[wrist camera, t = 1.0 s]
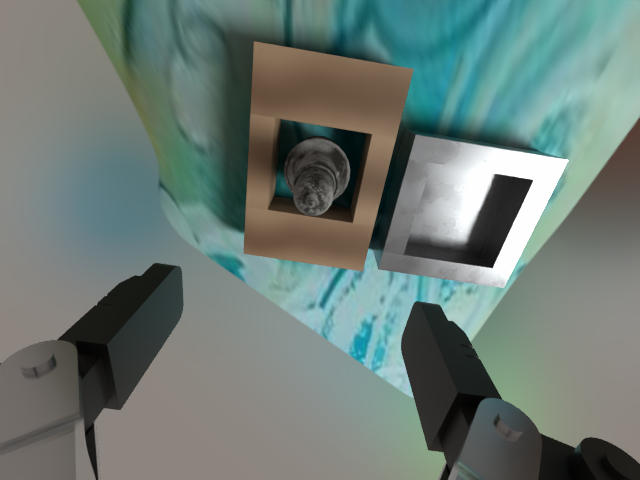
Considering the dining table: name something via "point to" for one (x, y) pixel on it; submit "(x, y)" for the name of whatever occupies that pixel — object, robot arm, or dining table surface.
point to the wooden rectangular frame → (326, 110)
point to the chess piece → (316, 174)
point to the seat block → (462, 207)
